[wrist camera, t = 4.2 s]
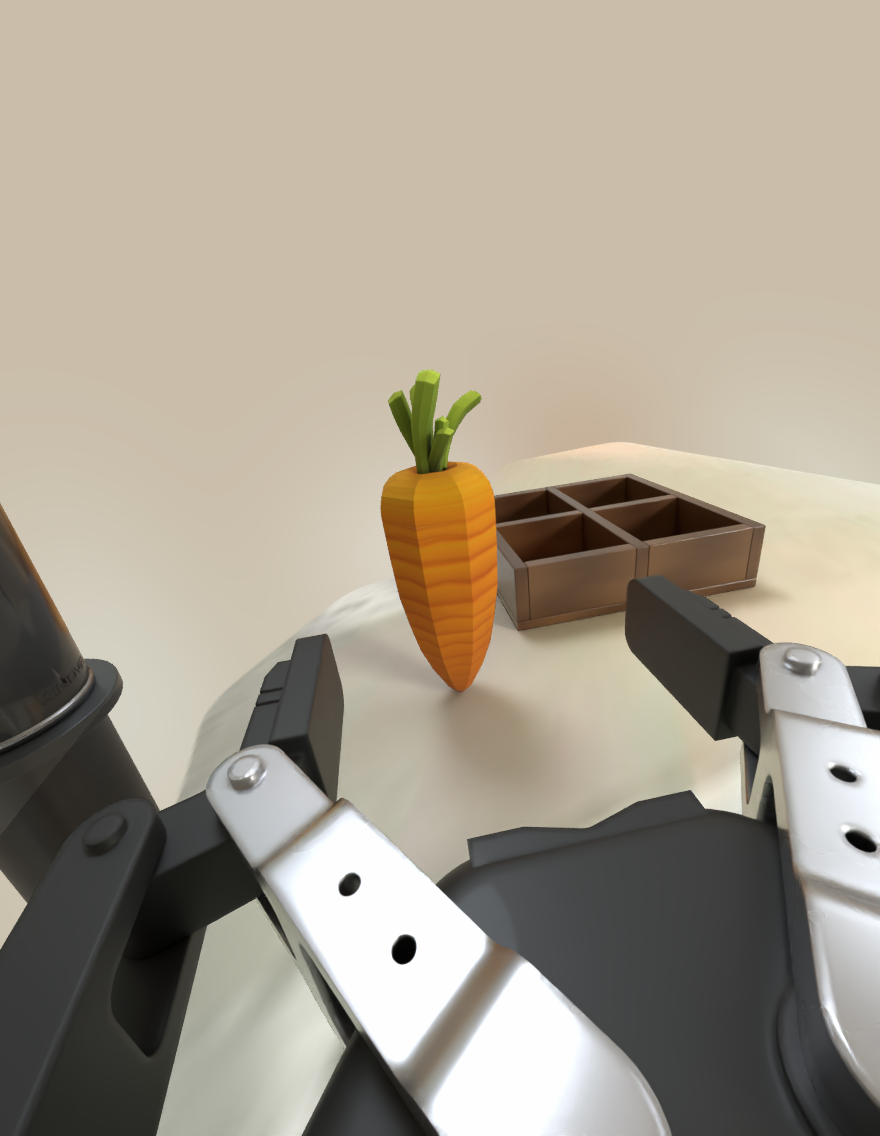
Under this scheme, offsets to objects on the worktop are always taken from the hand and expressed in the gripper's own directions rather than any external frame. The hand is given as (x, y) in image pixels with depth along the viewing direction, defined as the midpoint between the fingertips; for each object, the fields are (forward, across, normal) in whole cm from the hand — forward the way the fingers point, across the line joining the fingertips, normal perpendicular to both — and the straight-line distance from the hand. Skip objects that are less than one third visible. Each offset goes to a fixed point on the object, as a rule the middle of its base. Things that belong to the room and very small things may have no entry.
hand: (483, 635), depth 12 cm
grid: (+20, -12, +8) cm, 25 cm away
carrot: (+8, 0, +9) cm, 12 cm away
